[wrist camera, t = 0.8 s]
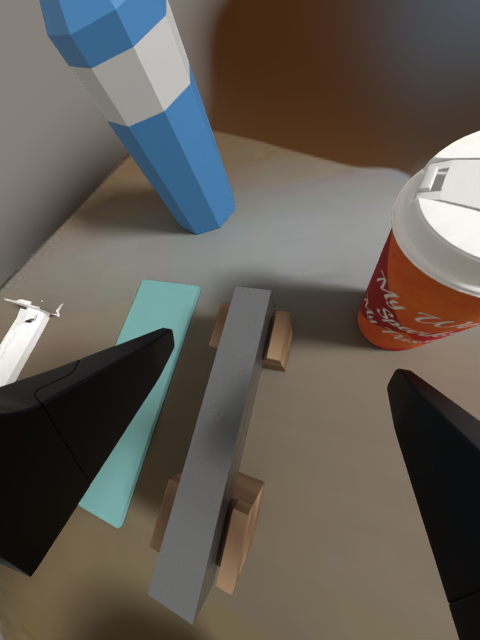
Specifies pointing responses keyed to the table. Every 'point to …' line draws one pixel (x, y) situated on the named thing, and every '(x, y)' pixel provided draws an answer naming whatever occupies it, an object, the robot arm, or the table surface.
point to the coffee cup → (429, 255)
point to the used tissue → (21, 340)
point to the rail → (213, 459)
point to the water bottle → (147, 99)
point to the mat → (128, 455)
